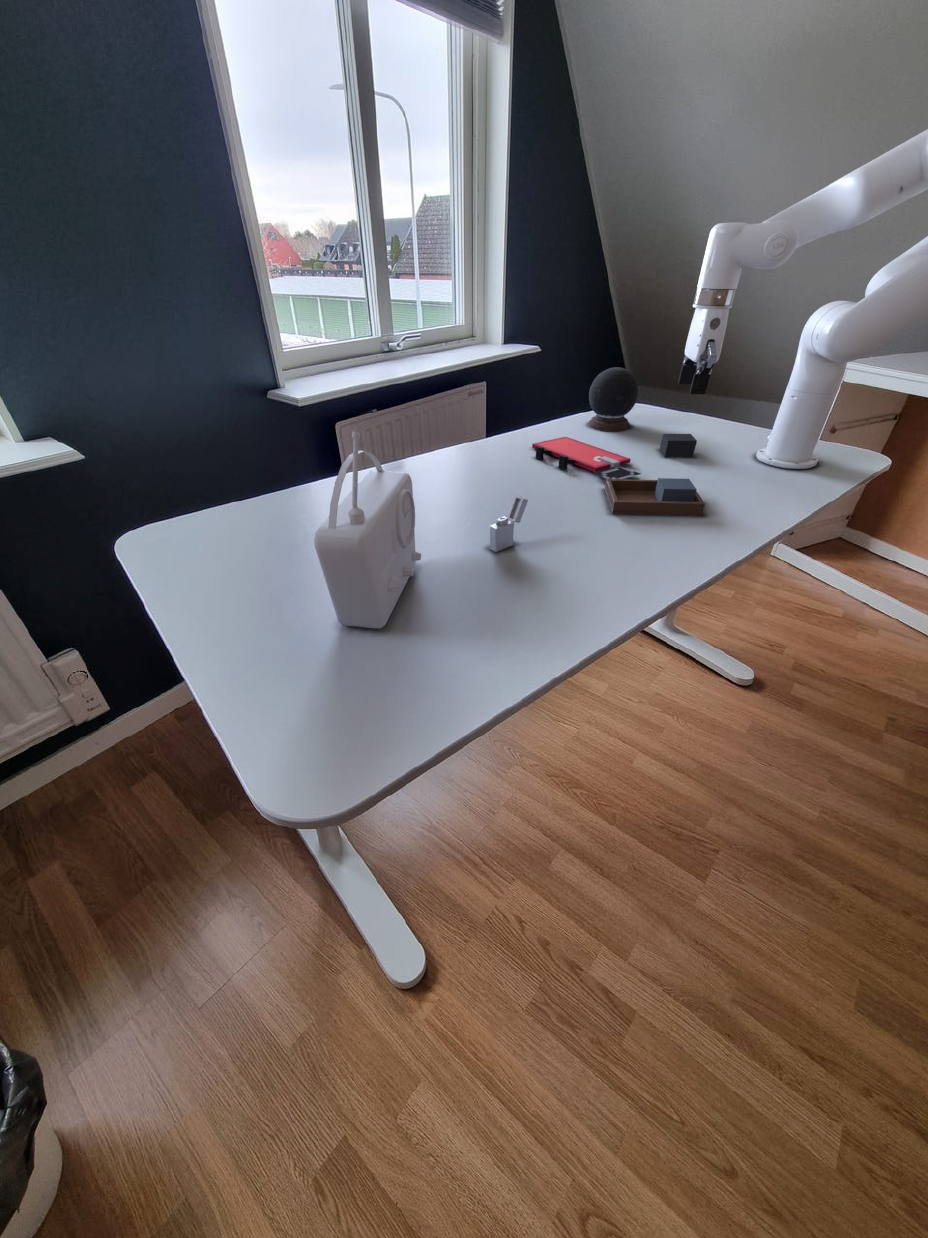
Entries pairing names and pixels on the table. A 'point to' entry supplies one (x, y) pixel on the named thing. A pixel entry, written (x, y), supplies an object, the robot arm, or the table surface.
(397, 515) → the radio
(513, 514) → the lighter
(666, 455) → the black block
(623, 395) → the dark sphere on stand
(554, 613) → the table surface
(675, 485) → the pad
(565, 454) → the red board with handle
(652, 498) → the brown wooden tray
